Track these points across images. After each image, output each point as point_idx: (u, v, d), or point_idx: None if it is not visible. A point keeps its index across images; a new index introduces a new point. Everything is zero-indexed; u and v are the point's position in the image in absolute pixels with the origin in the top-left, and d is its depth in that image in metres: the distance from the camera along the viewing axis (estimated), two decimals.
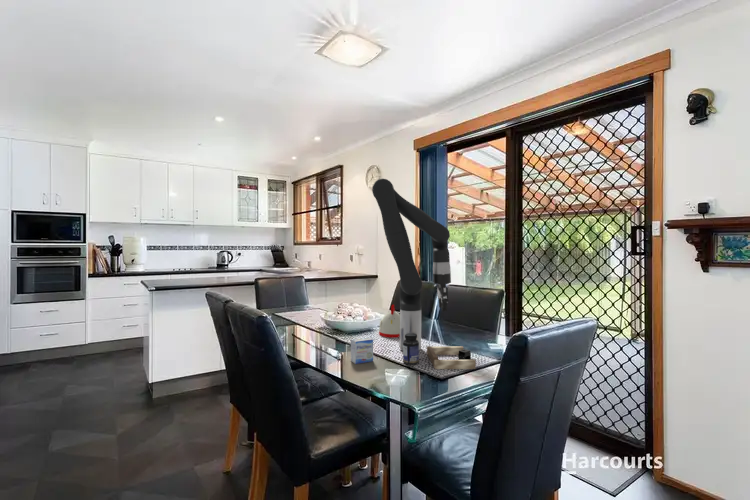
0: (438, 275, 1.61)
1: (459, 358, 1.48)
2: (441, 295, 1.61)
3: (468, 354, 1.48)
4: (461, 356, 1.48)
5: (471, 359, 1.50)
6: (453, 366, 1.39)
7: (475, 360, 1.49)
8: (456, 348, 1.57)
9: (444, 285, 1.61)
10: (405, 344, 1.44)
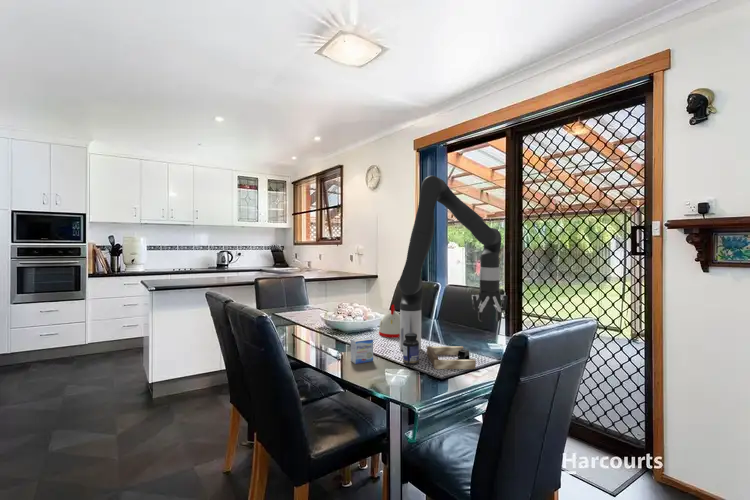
0: None
1: (459, 358, 1.48)
2: None
3: (467, 354, 1.49)
4: (461, 356, 1.47)
5: (469, 359, 1.50)
6: (453, 366, 1.39)
7: (473, 359, 1.50)
8: (456, 348, 1.57)
9: (480, 292, 1.48)
10: (405, 344, 1.44)
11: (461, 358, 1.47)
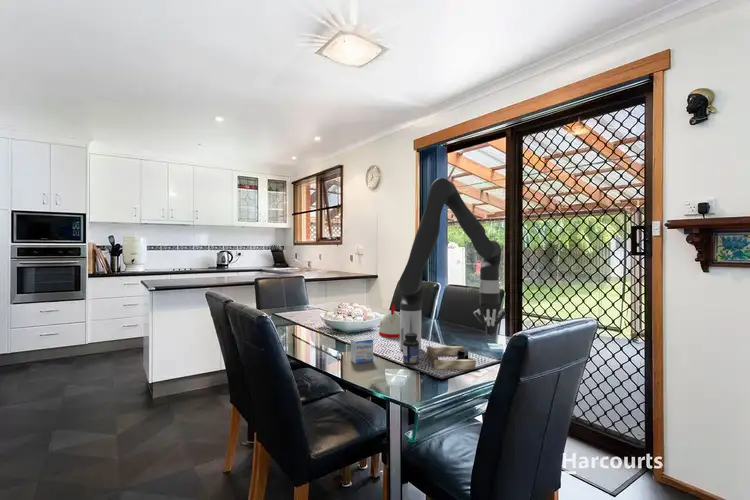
0: None
1: (458, 358, 1.48)
2: None
3: (466, 353, 1.49)
4: (460, 356, 1.48)
5: (468, 358, 1.51)
6: (453, 366, 1.39)
7: (472, 359, 1.51)
8: (456, 348, 1.57)
9: (480, 304, 1.48)
10: (405, 344, 1.44)
11: (461, 358, 1.47)
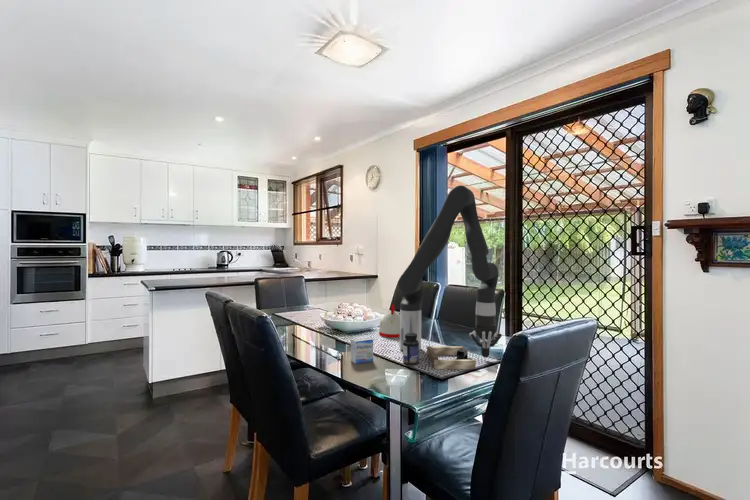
0: None
1: (458, 358, 1.48)
2: None
3: (466, 353, 1.49)
4: (460, 356, 1.48)
5: (467, 358, 1.51)
6: (453, 366, 1.39)
7: (471, 359, 1.51)
8: (456, 348, 1.57)
9: (476, 326, 1.48)
10: (405, 344, 1.44)
11: (460, 358, 1.48)
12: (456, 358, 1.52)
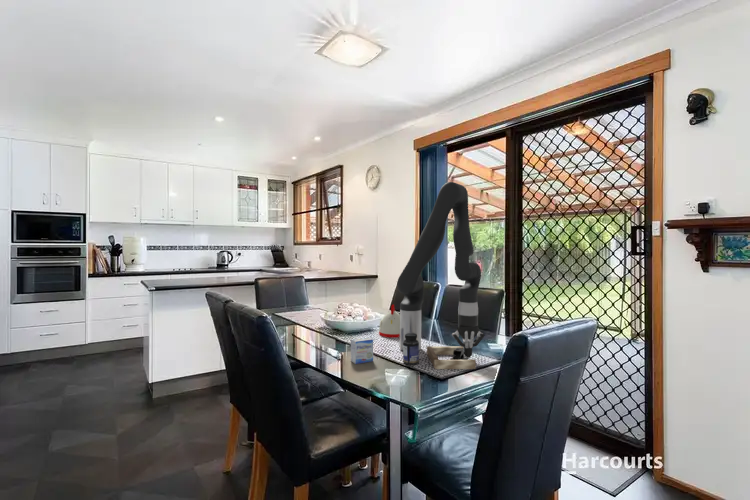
0: None
1: (454, 357, 1.49)
2: None
3: (462, 353, 1.50)
4: (456, 355, 1.48)
5: (464, 357, 1.52)
6: (453, 366, 1.39)
7: (468, 358, 1.52)
8: None
9: (458, 326, 1.48)
10: (405, 344, 1.44)
11: (457, 357, 1.48)
12: None
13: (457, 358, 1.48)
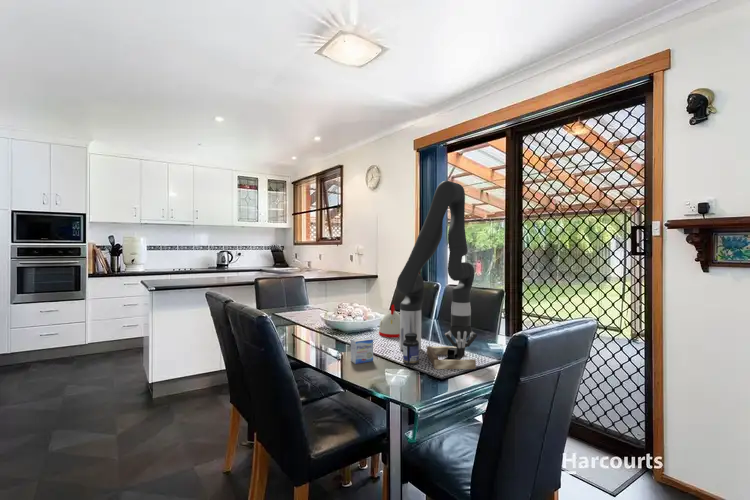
0: None
1: (448, 356, 1.50)
2: None
3: (456, 352, 1.51)
4: (450, 354, 1.50)
5: None
6: (453, 366, 1.39)
7: None
8: None
9: (451, 326, 1.48)
10: (405, 344, 1.44)
11: (451, 356, 1.50)
12: (447, 356, 1.54)
13: (451, 357, 1.50)
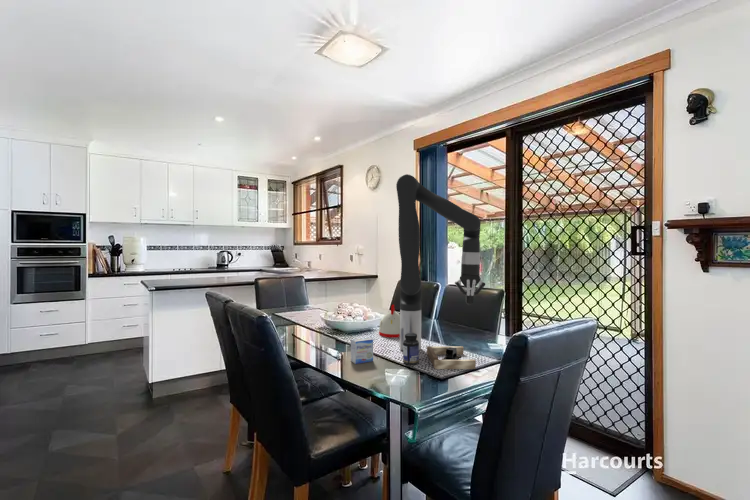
0: None
1: (447, 356, 1.51)
2: None
3: (455, 351, 1.51)
4: (449, 354, 1.50)
5: (457, 356, 1.53)
6: (453, 366, 1.39)
7: None
8: (456, 348, 1.57)
9: (461, 275, 1.57)
10: (405, 344, 1.44)
11: (449, 356, 1.50)
12: None
13: (449, 357, 1.50)
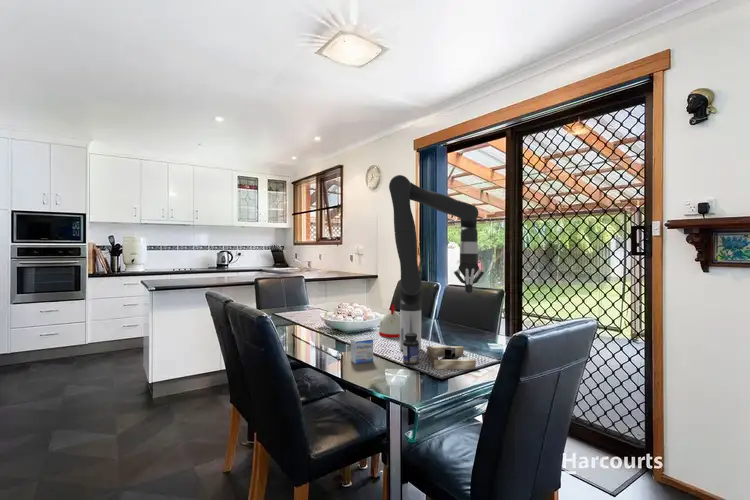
0: None
1: (445, 356, 1.51)
2: None
3: (453, 351, 1.52)
4: (448, 354, 1.50)
5: (455, 356, 1.53)
6: (453, 366, 1.39)
7: (459, 357, 1.53)
8: (456, 348, 1.57)
9: (460, 264, 1.60)
10: (405, 344, 1.44)
11: (448, 356, 1.50)
12: None
13: (448, 357, 1.50)
